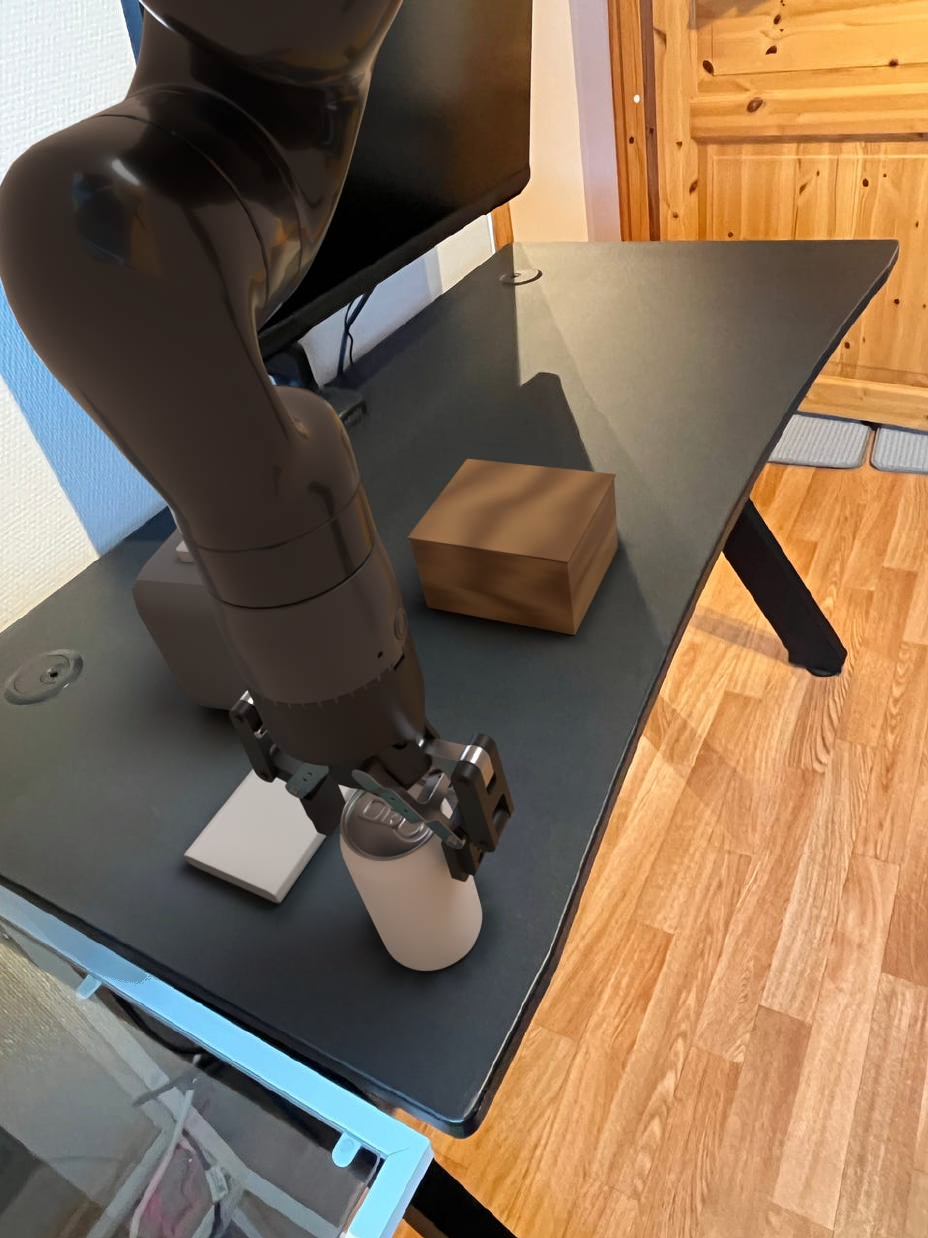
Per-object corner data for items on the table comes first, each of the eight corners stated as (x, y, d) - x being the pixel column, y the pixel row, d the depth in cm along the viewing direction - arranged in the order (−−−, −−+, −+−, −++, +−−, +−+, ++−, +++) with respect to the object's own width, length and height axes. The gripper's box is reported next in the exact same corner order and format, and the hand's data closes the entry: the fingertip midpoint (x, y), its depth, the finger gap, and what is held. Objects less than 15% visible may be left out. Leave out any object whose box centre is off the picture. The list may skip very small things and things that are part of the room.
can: (450, 993, 49) (408, 886, 42) (362, 947, 52) (307, 840, 45) (502, 900, 53) (472, 787, 45) (417, 863, 56) (375, 750, 48)
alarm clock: (298, 735, 67) (230, 586, 56) (180, 717, 70) (95, 574, 60) (374, 599, 78) (329, 453, 67) (269, 590, 81) (210, 450, 71)
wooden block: (619, 547, 77) (615, 473, 72) (575, 636, 70) (568, 561, 64) (480, 528, 83) (467, 458, 78) (425, 608, 76) (407, 537, 70)
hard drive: (190, 866, 59) (292, 736, 67) (281, 906, 56) (378, 764, 63) (181, 853, 58) (286, 722, 66) (273, 894, 55) (373, 750, 62)
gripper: (139, 661, 37) (258, 863, 47) (428, 737, 31) (488, 947, 42) (240, 555, 41) (326, 761, 52) (506, 604, 36) (542, 824, 46)
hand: (398, 843), depth 47 cm, fingers open, 8 cm apart
